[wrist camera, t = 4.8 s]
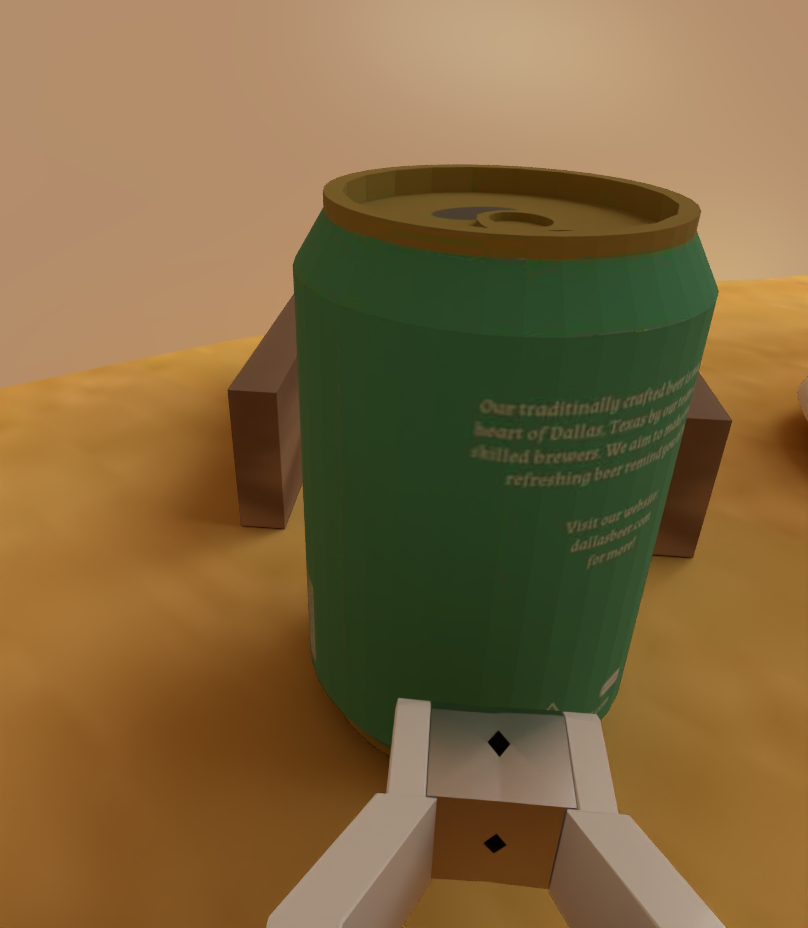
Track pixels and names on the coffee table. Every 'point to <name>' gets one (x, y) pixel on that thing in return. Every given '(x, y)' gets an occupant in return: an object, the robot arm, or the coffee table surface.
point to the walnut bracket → (280, 460)
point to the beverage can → (489, 429)
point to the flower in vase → (804, 397)
